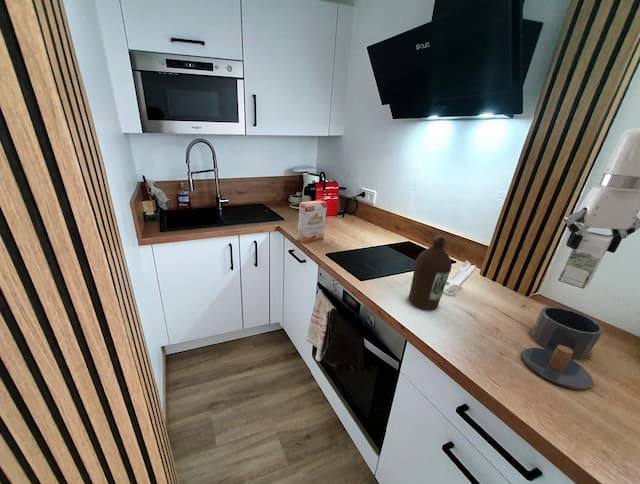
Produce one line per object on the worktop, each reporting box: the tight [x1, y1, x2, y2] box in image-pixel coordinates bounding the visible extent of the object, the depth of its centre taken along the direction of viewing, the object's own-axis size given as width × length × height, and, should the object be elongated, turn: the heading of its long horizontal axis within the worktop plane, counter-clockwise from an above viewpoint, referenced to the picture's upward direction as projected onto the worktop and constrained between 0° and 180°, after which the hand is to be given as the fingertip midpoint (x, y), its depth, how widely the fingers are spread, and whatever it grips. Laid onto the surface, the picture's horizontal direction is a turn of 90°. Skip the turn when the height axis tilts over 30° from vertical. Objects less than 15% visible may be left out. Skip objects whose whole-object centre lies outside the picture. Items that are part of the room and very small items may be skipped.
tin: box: [530, 306, 604, 360], centre depth 81 cm, size 12×12×8 cm
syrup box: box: [557, 230, 613, 290], centre depth 78 cm, size 6×6×14 cm
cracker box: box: [297, 200, 328, 244], centre depth 152 cm, size 14×6×21 cm, turn 120°
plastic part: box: [443, 260, 478, 296], centre depth 107 cm, size 8×10×12 cm
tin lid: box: [521, 345, 594, 390], centre depth 72 cm, size 13×13×7 cm
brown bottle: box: [408, 234, 452, 311], centre depth 95 cm, size 11×11×25 cm
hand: (589, 248), depth 76 cm, fingers closed on syrup box, 7 cm apart
